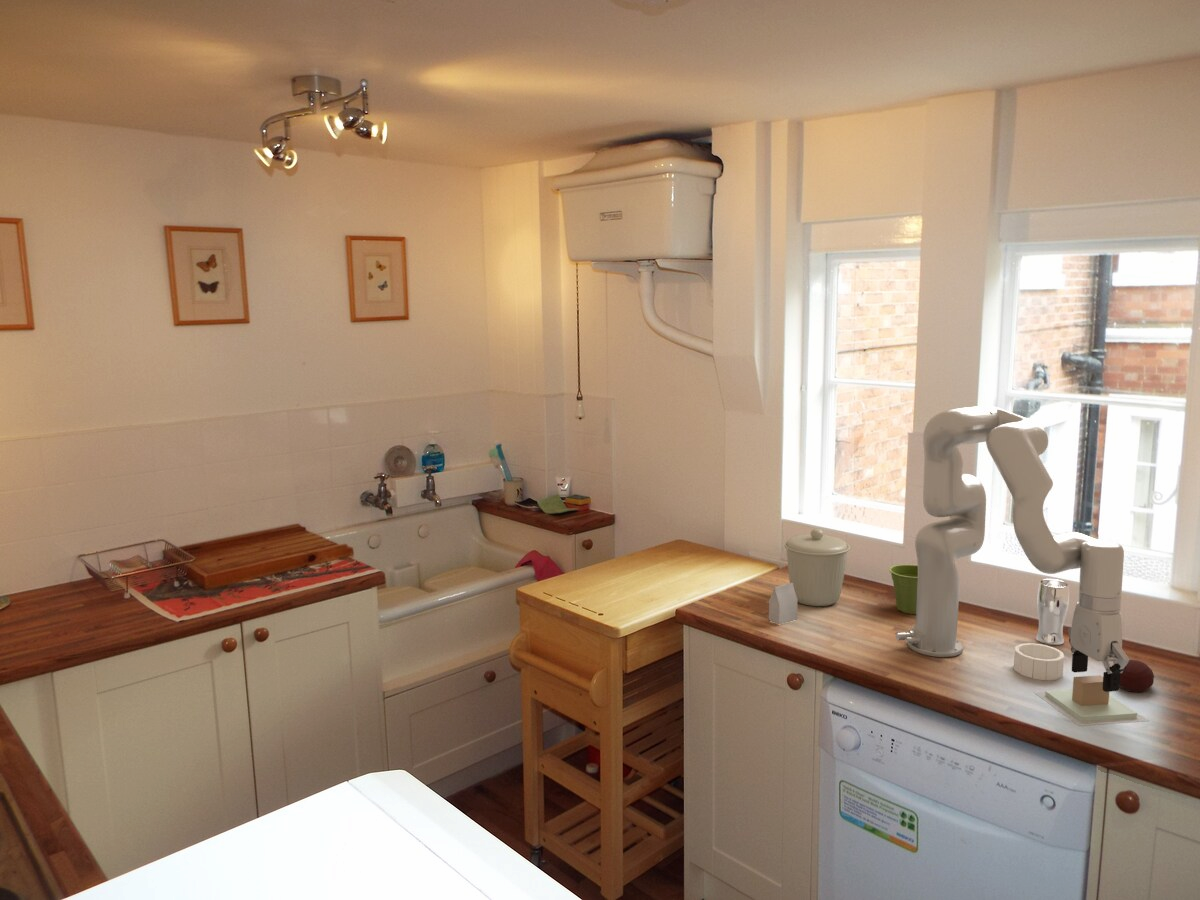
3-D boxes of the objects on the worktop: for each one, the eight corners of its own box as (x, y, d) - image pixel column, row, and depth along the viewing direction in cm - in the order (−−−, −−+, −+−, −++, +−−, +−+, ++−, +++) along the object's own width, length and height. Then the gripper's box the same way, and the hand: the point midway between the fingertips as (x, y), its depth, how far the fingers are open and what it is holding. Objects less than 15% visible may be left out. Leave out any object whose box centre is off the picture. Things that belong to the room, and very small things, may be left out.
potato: (1107, 690, 191) (1109, 664, 190) (1122, 676, 198) (1124, 650, 197) (1145, 701, 186) (1148, 674, 185) (1159, 686, 193) (1161, 660, 192)
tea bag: (796, 620, 235) (797, 584, 234) (778, 626, 232) (779, 589, 230) (786, 616, 238) (787, 581, 237) (768, 621, 235) (769, 586, 233)
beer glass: (1069, 647, 215) (1074, 588, 212) (1038, 645, 216) (1042, 586, 214) (1060, 636, 222) (1065, 579, 219) (1030, 634, 223) (1034, 577, 220)
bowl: (1030, 683, 195) (1031, 661, 195) (1005, 664, 205) (1006, 644, 204) (1071, 680, 196) (1073, 659, 196) (1044, 662, 206) (1046, 642, 205)
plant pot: (922, 601, 248) (924, 563, 246) (940, 616, 236) (942, 576, 234) (881, 602, 247) (882, 564, 246) (896, 618, 236) (898, 577, 234)
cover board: (1081, 721, 177) (1083, 693, 175) (1045, 695, 188) (1047, 668, 187) (1136, 717, 178) (1139, 690, 177) (1097, 691, 190) (1099, 665, 189)
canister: (856, 596, 253) (858, 525, 249) (836, 616, 238) (839, 540, 234) (795, 586, 262) (797, 518, 259) (773, 604, 247) (774, 532, 244)
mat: (1078, 728, 175) (1079, 725, 175) (1034, 694, 190) (1034, 692, 190) (1148, 723, 177) (1148, 720, 176) (1099, 690, 191) (1099, 688, 191)
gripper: (1055, 589, 187) (1051, 666, 190) (1111, 616, 170) (1105, 700, 173) (1088, 587, 188) (1084, 663, 190) (1147, 614, 171) (1141, 697, 173)
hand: (1094, 680), depth 182 cm, fingers open, 9 cm apart
